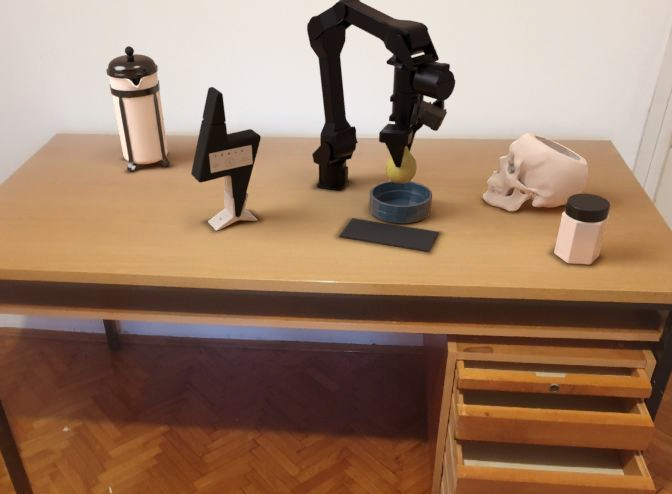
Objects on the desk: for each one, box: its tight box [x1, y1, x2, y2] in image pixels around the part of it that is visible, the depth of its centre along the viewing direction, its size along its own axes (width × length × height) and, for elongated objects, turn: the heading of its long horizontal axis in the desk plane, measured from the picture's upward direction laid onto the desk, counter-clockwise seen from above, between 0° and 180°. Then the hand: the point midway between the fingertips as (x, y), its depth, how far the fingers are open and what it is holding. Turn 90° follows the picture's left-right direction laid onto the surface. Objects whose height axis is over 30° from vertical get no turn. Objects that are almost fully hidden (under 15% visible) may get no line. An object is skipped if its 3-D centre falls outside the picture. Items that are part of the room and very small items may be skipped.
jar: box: [553, 193, 611, 266], centre depth 142 cm, size 9×8×12 cm
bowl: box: [368, 180, 433, 224], centre depth 163 cm, size 14×14×4 cm
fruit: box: [385, 146, 418, 184], centre depth 154 cm, size 7×8×12 cm
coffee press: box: [105, 45, 171, 173], centre depth 184 cm, size 17×16×30 cm
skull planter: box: [481, 132, 589, 212], centre depth 162 cm, size 14×20×19 cm
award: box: [191, 86, 262, 232], centre depth 153 cm, size 15×5×30 cm, turn 117°
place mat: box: [339, 217, 439, 253], centre depth 155 cm, size 20×9×1 cm, turn 68°
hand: (402, 161), depth 155 cm, fingers closed on fruit, 6 cm apart
